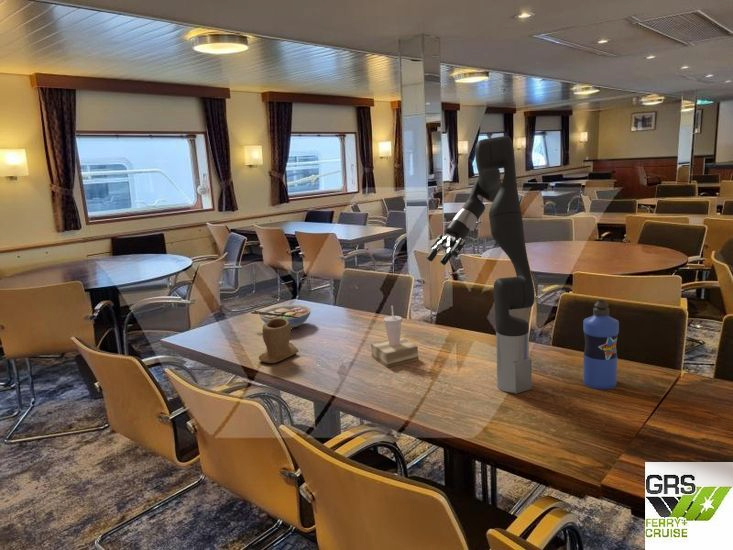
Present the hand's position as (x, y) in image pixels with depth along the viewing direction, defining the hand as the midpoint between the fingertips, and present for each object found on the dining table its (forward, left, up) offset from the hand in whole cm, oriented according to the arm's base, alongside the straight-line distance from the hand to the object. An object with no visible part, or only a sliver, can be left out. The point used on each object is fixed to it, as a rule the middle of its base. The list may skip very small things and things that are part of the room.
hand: (435, 261), depth 186 cm
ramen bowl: (+63, +38, -33) cm, 80 cm away
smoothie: (+3, +16, -28) cm, 32 cm away
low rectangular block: (+3, +17, -33) cm, 37 cm away
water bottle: (-50, -23, -33) cm, 64 cm away
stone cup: (+28, +51, -33) cm, 67 cm away
